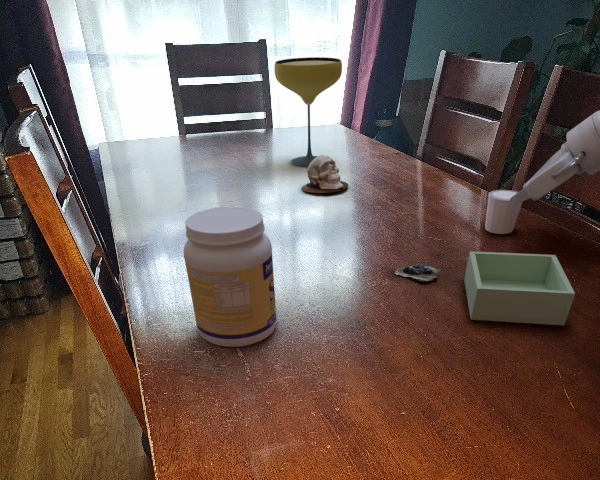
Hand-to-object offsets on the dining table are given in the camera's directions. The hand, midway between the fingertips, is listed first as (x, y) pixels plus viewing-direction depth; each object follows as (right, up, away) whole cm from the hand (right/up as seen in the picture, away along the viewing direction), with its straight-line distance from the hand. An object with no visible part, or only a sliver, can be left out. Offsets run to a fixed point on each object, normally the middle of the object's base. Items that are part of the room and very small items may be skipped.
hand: (518, 195), depth 101 cm
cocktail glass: (-41, +30, +50) cm, 71 cm away
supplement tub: (-53, -30, -23) cm, 65 cm away
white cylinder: (-2, -5, +6) cm, 8 cm away
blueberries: (-23, -18, -10) cm, 31 cm away
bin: (-9, -25, -18) cm, 32 cm away
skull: (-37, +14, +30) cm, 50 cm away
